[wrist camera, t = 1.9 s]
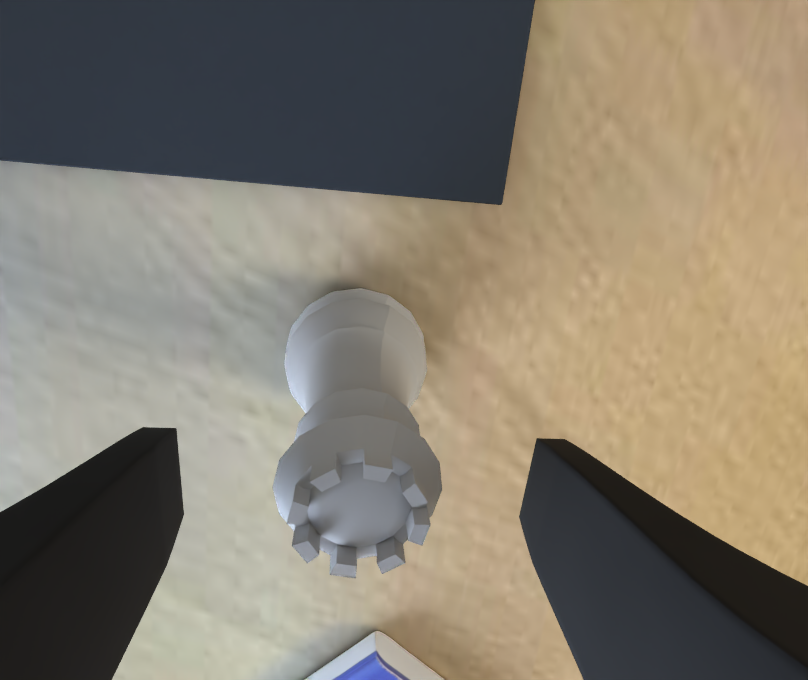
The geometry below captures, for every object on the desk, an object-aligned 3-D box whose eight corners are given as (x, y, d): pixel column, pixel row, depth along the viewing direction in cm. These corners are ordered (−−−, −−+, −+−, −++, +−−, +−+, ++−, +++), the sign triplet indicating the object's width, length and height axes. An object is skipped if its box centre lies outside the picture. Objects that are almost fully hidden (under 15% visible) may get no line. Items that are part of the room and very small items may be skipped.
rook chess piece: (322, 259, 15) (291, 371, 7) (448, 320, 16) (531, 469, 8) (266, 378, 16) (190, 578, 9) (385, 427, 17) (411, 639, 10)
